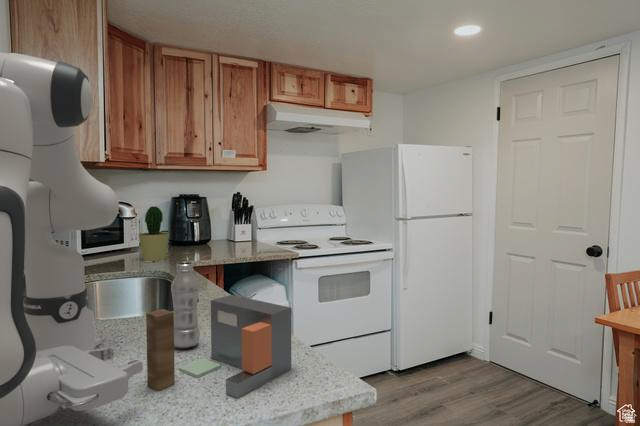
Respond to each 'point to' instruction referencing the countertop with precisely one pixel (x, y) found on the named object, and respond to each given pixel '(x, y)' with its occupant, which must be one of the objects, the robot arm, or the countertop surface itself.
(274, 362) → the box
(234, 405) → the countertop surface
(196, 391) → the countertop surface
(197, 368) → the pad
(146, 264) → the countertop surface
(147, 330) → the peg
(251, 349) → the plunger
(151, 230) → the potted cactus
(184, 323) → the plastic bottle
